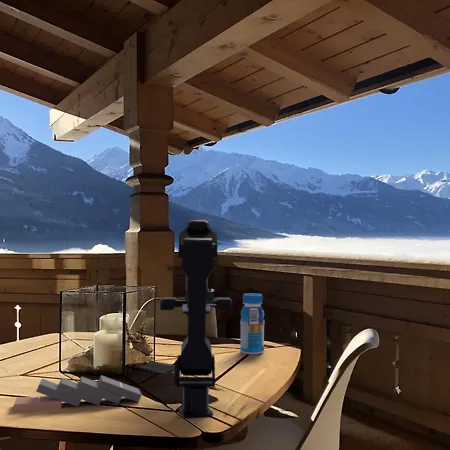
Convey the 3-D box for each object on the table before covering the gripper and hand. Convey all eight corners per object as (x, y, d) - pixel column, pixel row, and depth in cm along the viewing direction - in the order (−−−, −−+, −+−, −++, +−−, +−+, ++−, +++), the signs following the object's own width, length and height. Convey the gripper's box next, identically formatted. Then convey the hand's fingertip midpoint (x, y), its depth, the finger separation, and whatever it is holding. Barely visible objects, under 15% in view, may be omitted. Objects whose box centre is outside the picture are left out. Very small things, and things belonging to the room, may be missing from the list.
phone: (142, 359, 161) (182, 365, 154) (142, 363, 161) (182, 369, 154) (126, 365, 154) (168, 371, 147) (126, 368, 154) (168, 375, 147)
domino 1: (61, 394, 121) (16, 397, 118) (61, 401, 116) (13, 404, 113) (61, 402, 121) (16, 405, 118) (61, 409, 116) (13, 412, 113)
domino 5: (138, 388, 126) (100, 375, 124) (141, 395, 122) (102, 380, 119) (135, 395, 126) (97, 382, 124) (138, 402, 121) (98, 388, 119)
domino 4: (120, 390, 125) (81, 376, 122) (121, 396, 120) (81, 381, 118) (116, 397, 125) (78, 383, 122) (118, 404, 120) (78, 389, 117)
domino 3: (101, 392, 124) (61, 377, 121) (102, 398, 119) (61, 383, 116) (98, 399, 123) (58, 384, 121) (98, 405, 119) (57, 390, 116)
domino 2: (82, 393, 122) (41, 378, 120) (81, 399, 118) (39, 383, 116) (78, 400, 122) (38, 385, 120) (78, 406, 117) (36, 391, 115)
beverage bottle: (235, 352, 176) (235, 294, 177) (248, 348, 183) (248, 292, 184) (256, 356, 171) (256, 296, 172) (268, 351, 178) (269, 294, 179)
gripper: (159, 279, 127) (158, 342, 127) (234, 280, 129) (233, 342, 128) (162, 276, 139) (161, 334, 138) (231, 276, 140) (230, 334, 139)
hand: (195, 336), depth 136 cm, fingers closed
